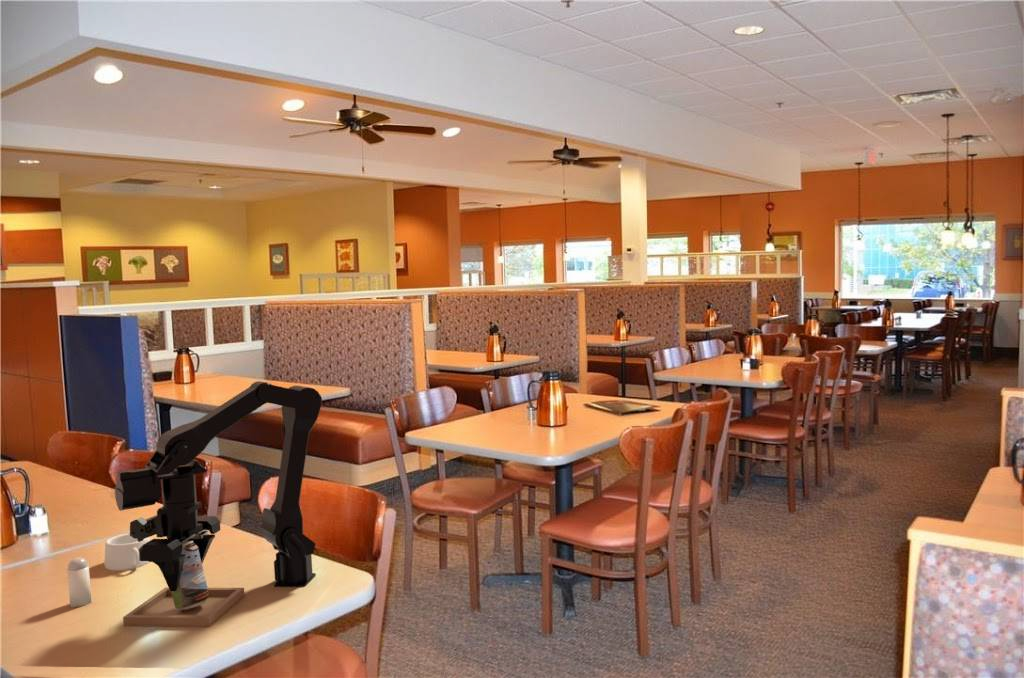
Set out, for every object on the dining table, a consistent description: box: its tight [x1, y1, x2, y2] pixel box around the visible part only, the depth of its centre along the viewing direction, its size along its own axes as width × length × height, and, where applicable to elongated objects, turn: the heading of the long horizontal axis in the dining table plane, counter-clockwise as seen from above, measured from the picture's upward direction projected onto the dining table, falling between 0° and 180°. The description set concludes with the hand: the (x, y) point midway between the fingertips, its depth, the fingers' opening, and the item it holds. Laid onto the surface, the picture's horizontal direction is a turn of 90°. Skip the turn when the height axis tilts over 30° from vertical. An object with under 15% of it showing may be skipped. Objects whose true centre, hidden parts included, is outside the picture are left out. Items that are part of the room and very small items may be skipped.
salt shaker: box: [67, 556, 92, 608], centre depth 154 cm, size 4×4×9 cm
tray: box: [122, 586, 246, 628], centre depth 149 cm, size 16×14×2 cm
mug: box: [103, 533, 151, 572], centre depth 175 cm, size 12×10×6 cm
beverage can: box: [171, 541, 209, 610], centre depth 149 cm, size 6×7×12 cm
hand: (184, 583), depth 149 cm, fingers open, 7 cm apart
